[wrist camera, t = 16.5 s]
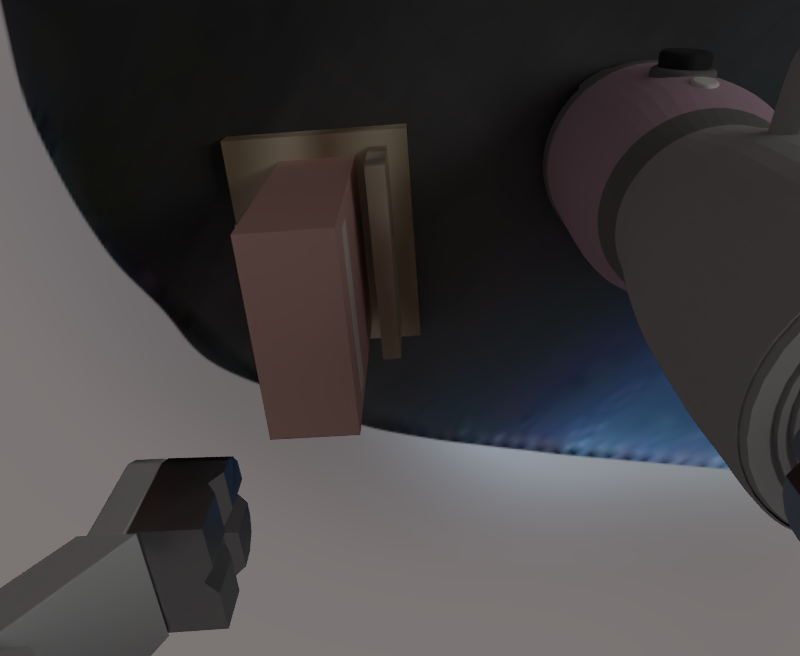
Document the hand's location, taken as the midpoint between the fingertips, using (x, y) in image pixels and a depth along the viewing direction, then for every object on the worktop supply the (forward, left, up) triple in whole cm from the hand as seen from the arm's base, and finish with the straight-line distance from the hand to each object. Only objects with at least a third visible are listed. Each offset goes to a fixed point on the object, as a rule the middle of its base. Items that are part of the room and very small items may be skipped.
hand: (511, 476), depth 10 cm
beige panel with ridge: (+8, +10, -39) cm, 41 cm away
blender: (-13, +4, -39) cm, 42 cm away
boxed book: (+8, +10, -38) cm, 40 cm away
